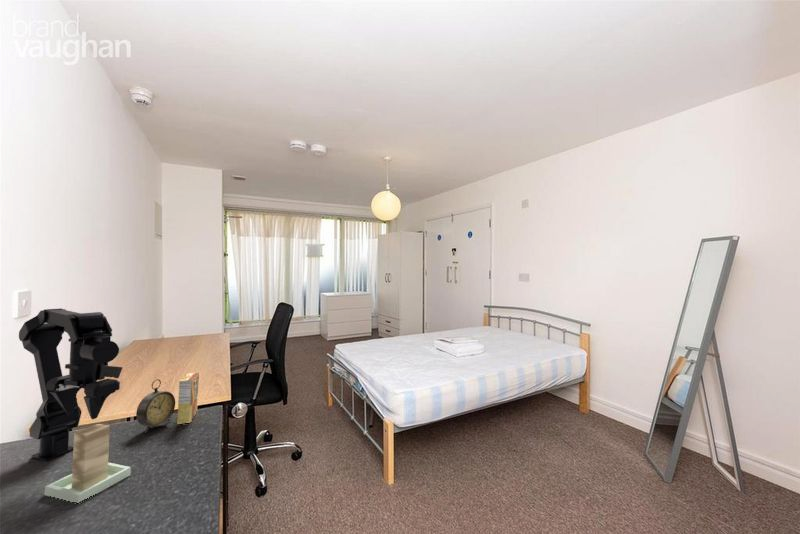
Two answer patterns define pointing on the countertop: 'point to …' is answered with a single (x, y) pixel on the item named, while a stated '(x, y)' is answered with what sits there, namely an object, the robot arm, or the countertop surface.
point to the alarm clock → (155, 408)
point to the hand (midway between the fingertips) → (82, 416)
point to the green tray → (66, 492)
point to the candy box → (188, 398)
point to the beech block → (90, 456)
